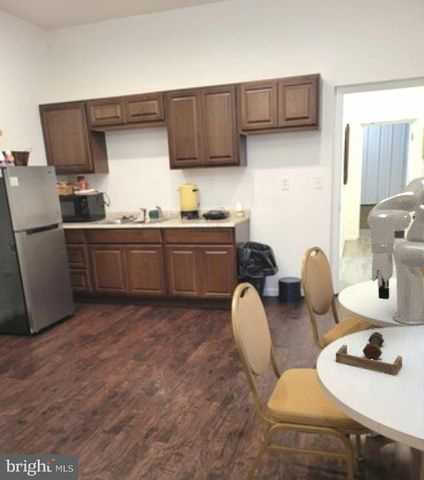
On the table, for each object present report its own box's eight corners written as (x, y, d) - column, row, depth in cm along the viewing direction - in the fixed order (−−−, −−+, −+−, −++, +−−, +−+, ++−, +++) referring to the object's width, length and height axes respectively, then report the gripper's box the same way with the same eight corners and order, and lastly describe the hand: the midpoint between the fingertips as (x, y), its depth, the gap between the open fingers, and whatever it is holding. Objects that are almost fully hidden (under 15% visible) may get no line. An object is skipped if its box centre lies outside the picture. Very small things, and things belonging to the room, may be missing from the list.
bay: (343, 352, 130) (343, 344, 129) (402, 365, 118) (401, 356, 118) (336, 361, 124) (335, 353, 124) (396, 375, 113) (396, 366, 112)
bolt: (380, 345, 136) (374, 364, 123) (367, 337, 138) (360, 354, 125) (388, 333, 134) (383, 350, 121) (375, 325, 136) (369, 341, 123)
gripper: (377, 243, 140) (378, 291, 142) (365, 252, 128) (366, 303, 131) (399, 244, 135) (400, 293, 138) (388, 253, 123) (389, 306, 126)
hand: (383, 298), depth 134 cm, fingers closed
